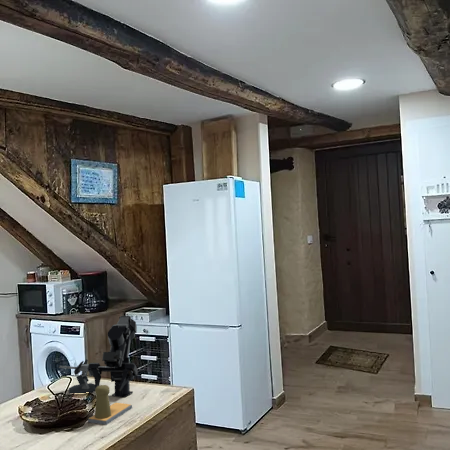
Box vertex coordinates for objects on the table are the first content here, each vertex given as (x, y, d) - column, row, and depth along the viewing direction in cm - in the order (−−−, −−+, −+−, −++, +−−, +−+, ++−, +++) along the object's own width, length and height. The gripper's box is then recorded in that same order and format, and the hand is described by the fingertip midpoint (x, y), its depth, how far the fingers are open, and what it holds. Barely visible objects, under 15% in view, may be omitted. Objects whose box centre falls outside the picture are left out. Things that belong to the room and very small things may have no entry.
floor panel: (114, 405, 203) (114, 402, 203) (132, 408, 200) (132, 404, 200) (88, 421, 187) (88, 418, 187) (106, 424, 184) (106, 420, 184)
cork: (93, 414, 191) (92, 384, 191) (109, 411, 193) (108, 382, 193) (96, 420, 185) (95, 389, 185) (112, 417, 188) (112, 386, 187)
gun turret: (66, 383, 234) (66, 355, 234) (105, 386, 228) (104, 357, 227) (49, 392, 222) (48, 362, 222) (89, 396, 216) (88, 365, 215)
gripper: (88, 342, 201) (77, 379, 190) (134, 342, 199) (126, 380, 188) (96, 357, 209) (86, 393, 198) (141, 357, 207) (133, 394, 196)
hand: (108, 389), depth 195 cm, fingers open, 9 cm apart
